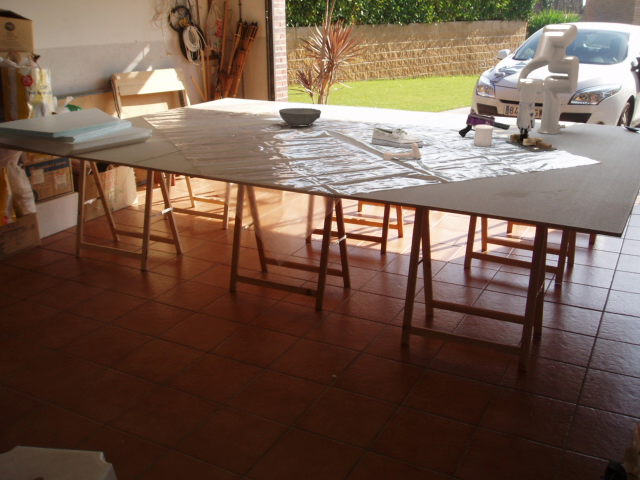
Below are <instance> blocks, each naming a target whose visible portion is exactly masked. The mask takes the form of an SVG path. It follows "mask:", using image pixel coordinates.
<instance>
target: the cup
mask: <svg viewBox="0 0 640 480" xmlns="http://www.w3.org/2000/svg"><path fill="white" fill-rule="evenodd" d="M474 127H475V129H474V130H475V131H474V137H473V144H474V146H476V147H483V146H484V147H490V145H492V143H493V130H494V126H489V125H476V126H474Z"/></svg>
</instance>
